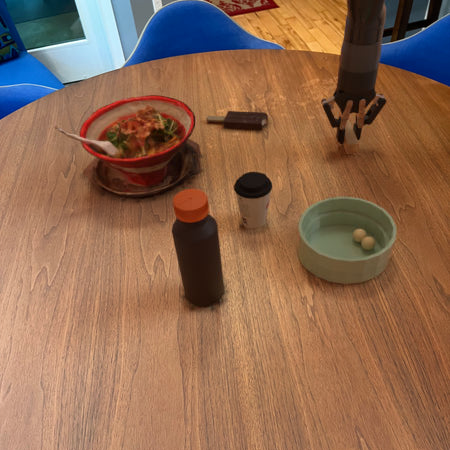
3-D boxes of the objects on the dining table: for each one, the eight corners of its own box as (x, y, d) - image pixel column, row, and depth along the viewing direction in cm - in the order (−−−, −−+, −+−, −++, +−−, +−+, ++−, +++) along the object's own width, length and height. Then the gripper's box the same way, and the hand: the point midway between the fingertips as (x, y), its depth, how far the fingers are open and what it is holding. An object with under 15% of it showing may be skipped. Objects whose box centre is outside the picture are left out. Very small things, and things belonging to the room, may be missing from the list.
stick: (348, 129, 109) (349, 120, 107) (357, 153, 103) (359, 143, 101) (337, 130, 109) (339, 121, 107) (346, 154, 103) (347, 144, 101)
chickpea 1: (352, 237, 85) (362, 245, 85) (360, 226, 84) (371, 234, 85) (348, 236, 87) (358, 244, 87) (356, 225, 87) (366, 233, 87)
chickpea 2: (378, 236, 84) (375, 243, 82) (374, 247, 86) (371, 254, 84) (365, 232, 85) (361, 239, 83) (361, 243, 86) (358, 250, 85)
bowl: (376, 218, 91) (382, 192, 86) (400, 281, 80) (408, 256, 76) (291, 226, 91) (292, 200, 87) (304, 289, 81) (306, 264, 76)
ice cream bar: (204, 127, 116) (265, 130, 113) (203, 120, 115) (265, 124, 112) (209, 115, 119) (268, 118, 117) (208, 109, 118) (268, 112, 115)
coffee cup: (239, 237, 90) (236, 194, 82) (233, 214, 95) (230, 171, 87) (275, 231, 90) (276, 188, 83) (268, 208, 95) (267, 165, 87)
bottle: (211, 313, 79) (198, 220, 63) (177, 300, 81) (156, 207, 66) (231, 286, 82) (223, 191, 67) (198, 273, 85) (182, 179, 70)
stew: (79, 221, 96) (51, 151, 84) (78, 156, 112) (54, 89, 100) (215, 195, 99) (207, 124, 86) (195, 135, 114) (186, 67, 102)
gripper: (327, 74, 90) (319, 154, 104) (400, 67, 90) (383, 148, 103) (319, 56, 95) (313, 135, 108) (389, 50, 95) (374, 130, 108)
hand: (347, 141), depth 106 cm, fingers closed on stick, 2 cm apart
